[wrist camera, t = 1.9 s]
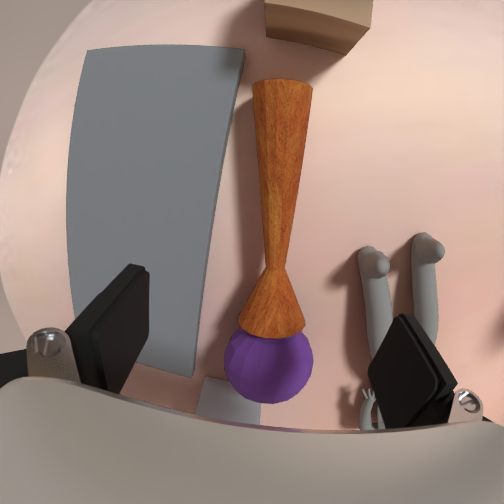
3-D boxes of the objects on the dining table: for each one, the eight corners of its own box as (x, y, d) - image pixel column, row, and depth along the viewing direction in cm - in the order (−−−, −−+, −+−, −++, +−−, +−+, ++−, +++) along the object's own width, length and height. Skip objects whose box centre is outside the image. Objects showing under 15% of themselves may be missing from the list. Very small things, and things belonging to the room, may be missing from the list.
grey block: (251, 417, 25) (247, 458, 20) (201, 408, 25) (191, 447, 20) (262, 386, 23) (259, 431, 19) (205, 375, 23) (193, 419, 19)
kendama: (355, 82, 11) (316, 415, 17) (316, 104, 17) (295, 365, 23) (230, 66, 11) (227, 423, 16) (225, 96, 16) (223, 369, 22)
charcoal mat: (194, 370, 23) (191, 377, 22) (84, 335, 23) (79, 342, 22) (245, 54, 14) (244, 49, 14) (94, 53, 14) (87, 50, 13)
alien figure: (469, 240, 14) (429, 455, 21) (433, 221, 18) (418, 426, 25) (351, 273, 15) (362, 477, 22) (334, 246, 19) (356, 445, 27)
